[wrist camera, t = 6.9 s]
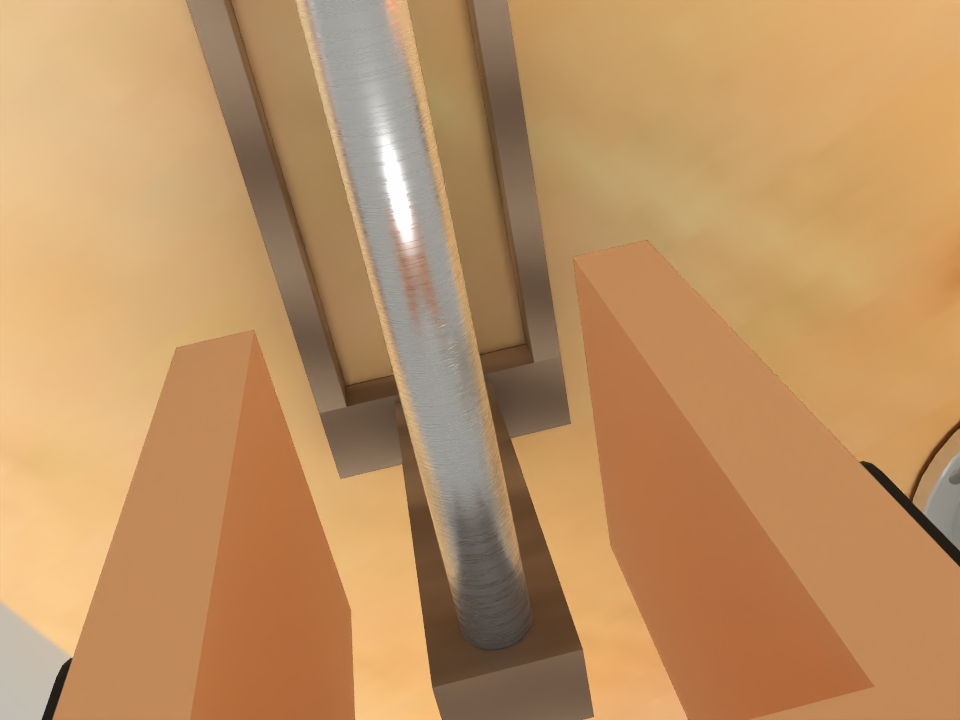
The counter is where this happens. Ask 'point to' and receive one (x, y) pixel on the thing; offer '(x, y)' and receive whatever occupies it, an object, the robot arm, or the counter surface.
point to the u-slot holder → (631, 524)
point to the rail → (420, 299)
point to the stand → (376, 404)
